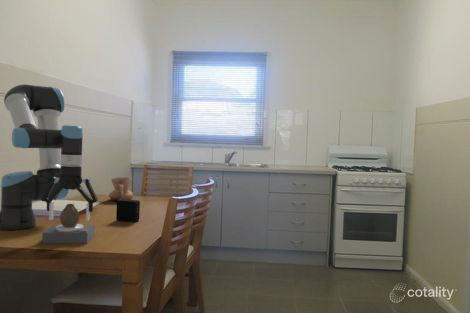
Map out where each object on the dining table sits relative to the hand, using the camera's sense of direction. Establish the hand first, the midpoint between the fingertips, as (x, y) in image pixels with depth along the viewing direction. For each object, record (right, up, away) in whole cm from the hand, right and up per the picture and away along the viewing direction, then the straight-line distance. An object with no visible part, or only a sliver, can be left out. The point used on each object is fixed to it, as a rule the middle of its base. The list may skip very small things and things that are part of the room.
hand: (69, 219), depth 148 cm
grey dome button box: (0, -8, 0) cm, 8 cm away
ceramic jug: (-7, -3, +89) cm, 89 cm away
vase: (0, -3, 0) cm, 3 cm away
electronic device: (+13, -7, +36) cm, 38 cm away
